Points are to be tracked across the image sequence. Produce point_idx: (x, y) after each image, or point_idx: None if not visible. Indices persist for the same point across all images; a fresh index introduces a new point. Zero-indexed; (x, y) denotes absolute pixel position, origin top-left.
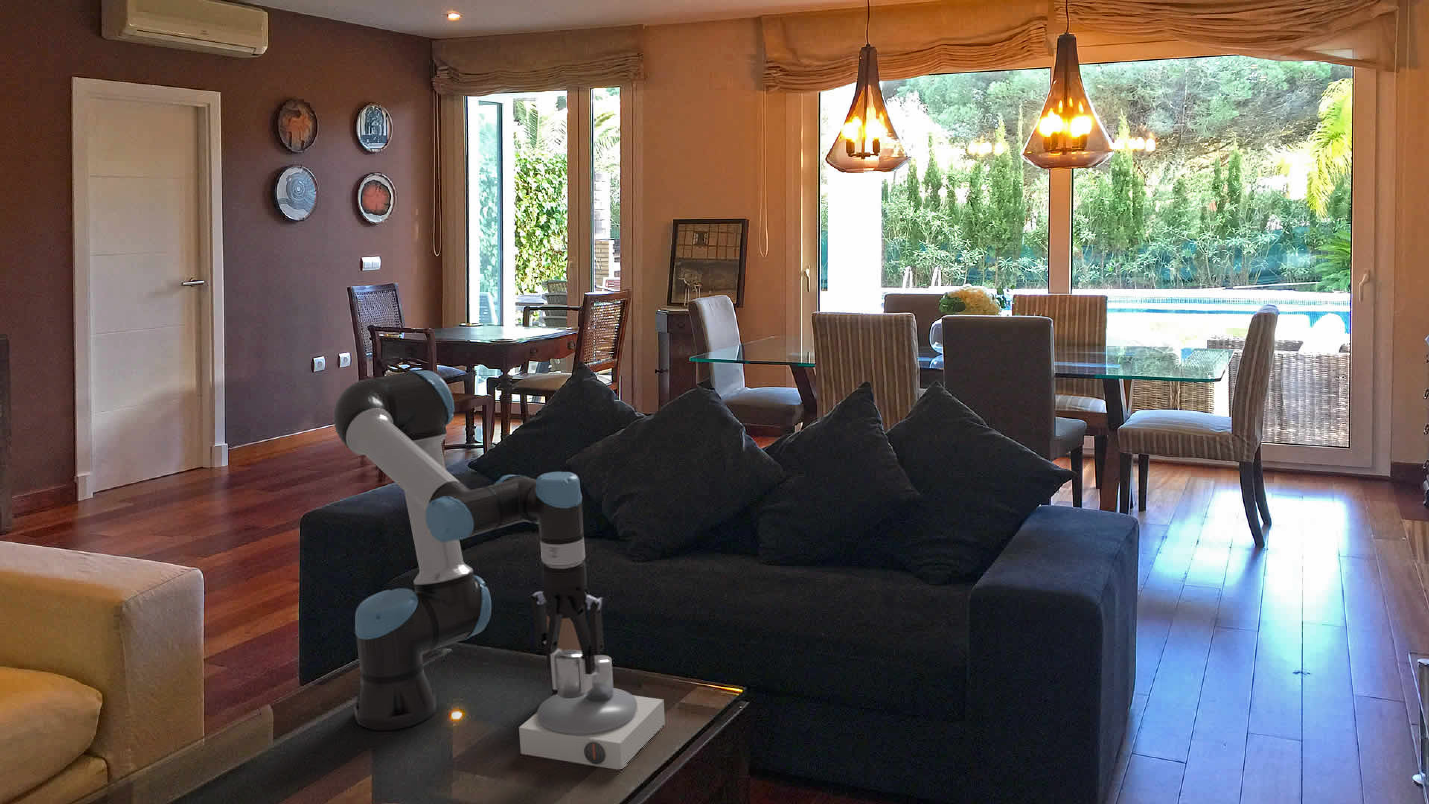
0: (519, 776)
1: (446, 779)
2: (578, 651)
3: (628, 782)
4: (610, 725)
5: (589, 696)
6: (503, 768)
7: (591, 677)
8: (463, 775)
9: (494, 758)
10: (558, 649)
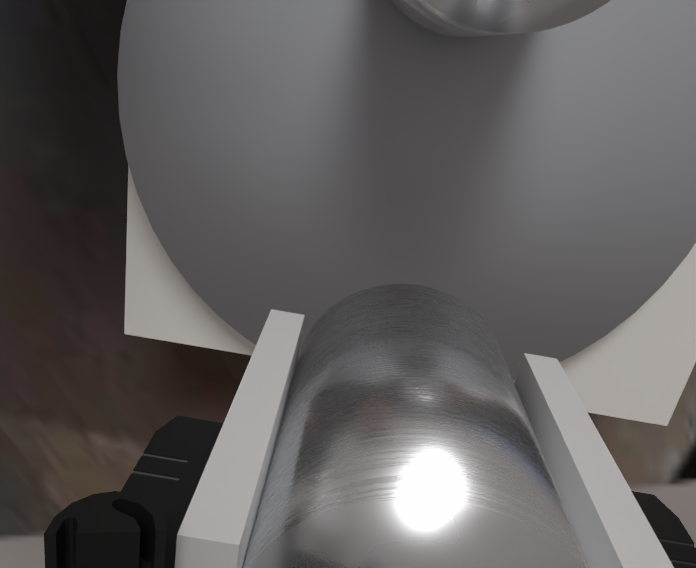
0: None
1: (11, 470)
2: (506, 553)
3: (652, 430)
4: (611, 329)
5: (414, 21)
6: (160, 389)
7: (583, 410)
8: (50, 443)
9: (86, 326)
10: (200, 561)
